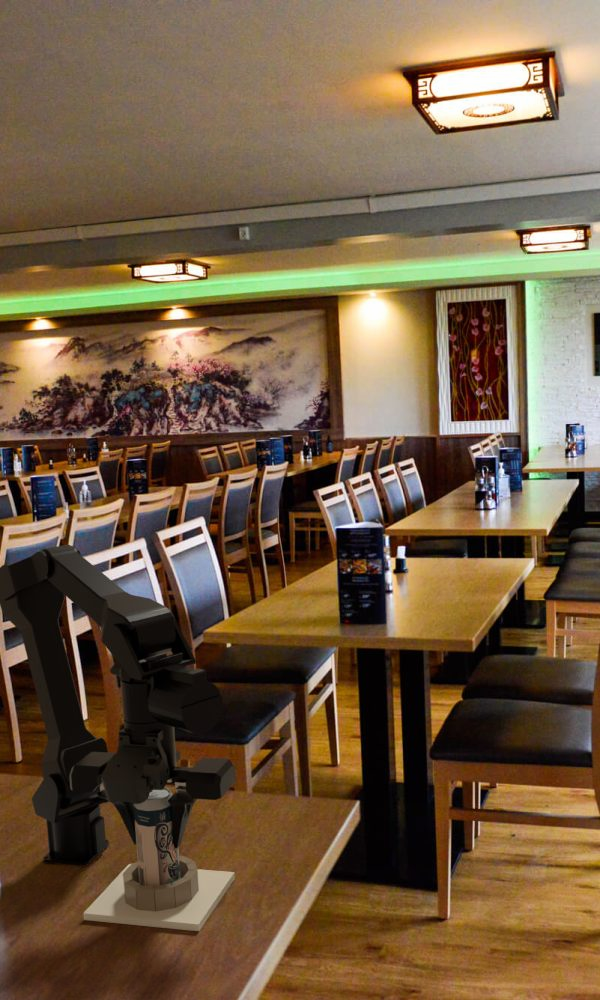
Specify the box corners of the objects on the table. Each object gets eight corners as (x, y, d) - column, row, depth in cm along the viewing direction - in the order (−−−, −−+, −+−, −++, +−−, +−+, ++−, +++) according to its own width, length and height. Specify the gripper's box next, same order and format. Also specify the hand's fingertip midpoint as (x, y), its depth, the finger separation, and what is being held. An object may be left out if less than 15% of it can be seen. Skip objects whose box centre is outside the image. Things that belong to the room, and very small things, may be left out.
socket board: (84, 919, 111) (81, 892, 110) (129, 869, 122) (127, 844, 122) (198, 931, 107) (197, 902, 107) (234, 878, 118) (233, 852, 118)
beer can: (174, 902, 112) (167, 802, 111) (134, 901, 113) (127, 801, 111) (186, 882, 116) (179, 785, 115) (148, 881, 117) (141, 785, 116)
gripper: (39, 736, 107) (50, 871, 109) (198, 744, 102) (207, 885, 104) (87, 704, 118) (97, 828, 119) (233, 710, 113) (241, 839, 114)
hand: (157, 845), depth 114 cm, fingers closed on beer can, 5 cm apart
